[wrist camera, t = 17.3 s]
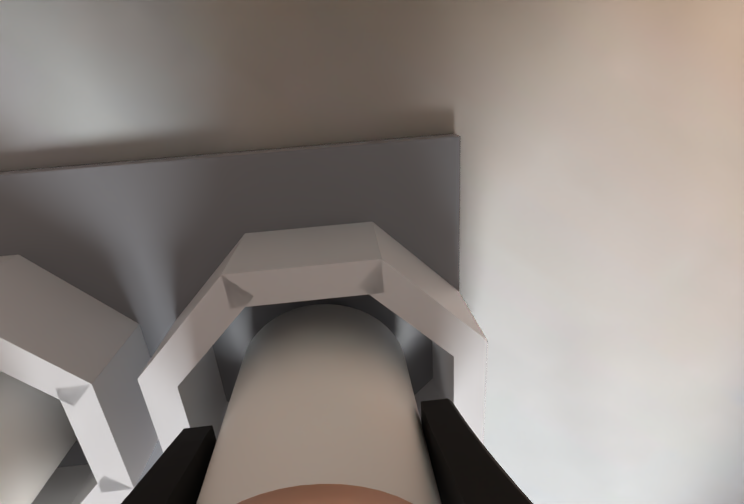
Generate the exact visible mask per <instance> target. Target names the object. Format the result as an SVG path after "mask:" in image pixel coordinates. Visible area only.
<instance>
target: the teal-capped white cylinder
mask: <svg viewBox="0 0 744 504" xmlns="http://www.w3.org/2000/svg"><path fill="white" fill-rule="evenodd" d="M76 440H77V437H76V435H75V432H74V430H73V428H72V426H71V423H70V421H69V419H68V417H67V415H66V412H65V410H64V408H63V406H62V403H61V401H60V400H59V399H57V398H55V397H53V396H51V395H49V394H47V393H45V392H43V391H41V390H39V389H37V388H34V387H32V386H30V385H28V384H26V383H24V382H22V381H20V380H18V379H16V378H14V377H12V376H10V375H8V374H6V373H4V372H2V371H0V504H31V503H32V502H33V501H34V499H35V498H36V496H37V495H38V494H39V492H40V491H41V489H42V488H43V487H44V485H45V484H46V482H47V481H48V479H49V478H50V477H51V475H52V474H53V472H54V471H55V470H56V468H57V467H58V465H59V464H60V463H61V461H62V460H63V458H64V457H65V456H66V454H67V453H68V451H69V450H70V449H71V447H72V446H73V444H74V443H75V441H76Z"/></svg>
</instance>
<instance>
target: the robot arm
mask: <svg viewBox="0 0 744 504" xmlns="http://www.w3.org/2000/svg"><path fill="white" fill-rule="evenodd" d="M421 424H422V428H423V432H424V436H425V440H426V444H427V448H428V452H429V456H430V460H431V464H432V468H433V472H434V476H435V480H436V484H437V488H438V492H439V496H440V500H441V504H533V503H532V502H531V501H530V500H529V499H528V497H527V496H526V495H525V494H524V493H523V492H522V491H521V490H520V488H519V487H518V486H517V485H516V484H515V483H514V482H513V480H512V479H511V478H510V477H509V476H508V474H507V473H506V472H505V471H504V470H503V468H502V467H501V466H500V465H499V464H498V462H497V461H496V460H495V459H494V458H493V456H492V455H491V454H490V453H489V451H488V450H487V449H486V448H485V446H484V445H483V444H482V442H481V441H480V440H479V439H478V437H477V436H476V435H475V433H474V432H473V431H472V429H471V428H470V427H469V425H468V424H467V422H466V421H465V420H464V418H463V417H462V415H461V414H460V412H459V411H458V409H457V408H456V406H455V405H454V403H453V402H452V401H451V400H449V399H448V398H446V399H437V400H429V401H421ZM216 441H217V440H216V436H215V433H214V429H213V426H212V425H210V426H202V427H193V428H184V429H183V430H182V431H181V432H180V434H179V435H178V436H177V437H176V438H175V439H174V441H173V442H172V443H171V444H170V445H169V447H168V448H167V449H166V450H165V451H164V453H163V454H162V455H161V456H160V457H159V459H158V460H157V461H156V462H155V464H154V465H153V466H152V467H151V468H150V470H149V471H148V472H147V473H146V474H145V476H144V477H143V478H142V479H141V480H140V482H139V483H138V484H137V485H136V486H135V488H134V489H133V490H132V491H131V492H130V493H129V495H128V496H127V497H126V498H125V499H124V500H123V502H122V503H121V504H196V503H197V500H198V497H199V494H200V491H201V488H202V484H203V481H204V478H205V475H206V472H207V469H208V466H209V463H210V460H211V457H212V454H213V450H214V447H215V444H216Z"/></svg>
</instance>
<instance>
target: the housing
mask: <svg viewBox="0 0 744 504" xmlns="http://www.w3.org/2000/svg"><path fill="white" fill-rule="evenodd" d="M459 224H460V136H459V135H457V134H446V135H434V136H422V137H410V138H399V139H387V140H375V141H363V142H351V143H339V144H327V145H315V146H304V147H292V148H280V149H268V150H256V151H244V152H232V153H220V154H209V155H197V156H185V157H173V158H161V159H149V160H137V161H125V162H114V163H102V164H90V165H78V166H66V167H54V168H42V169H30V170H19V171H7V172H0V371H2V372H4V373H6V374H8V375H10V376H12V377H14V378H16V379H18V380H20V381H22V382H24V383H26V384H28V385H30V386H32V387H34V388H37V389H39V390H41V391H43V392H45V393H47V394H49V395H51V396H53V397H55V398H57V399H59V400H60V401H61V403H62V406H63V408H64V410H65V412H66V415H67V417H68V419H69V421H70V423H71V426H72V428H73V430H74V432H75V435H76V437H77V440H76V441H75V443H74V444H73V446H72V447H71V449H70V450H69V451H68V453H67V454H66V456H65V457H64V458H63V460H62V461H61V463H60V464H59V465H58V467H57V468H56V470H55V471H54V472H53V474H52V475H51V477H50V478H49V479H48V481H47V482H46V484H45V485H44V487H43V488H42V489H41V491H40V492H39V494H38V495H37V496H36V498H35V499H34V501H33V502H32V503H31V504H121V503H122V502H123V500H124V499H125V498H126V497H127V496H128V495H129V493H130V492H131V491H132V490H133V489H134V488H135V486H136V485H137V484H138V483H139V482H140V480H141V479H142V478H143V477H144V476H145V474H146V473H147V472H148V471H149V470H150V468H151V467H152V466H153V465H154V464H155V462H156V461H157V460H158V459H159V457H160V456H161V455H162V454H163V453H164V451H165V450H166V449H167V448H168V447H169V445H170V444H171V443H172V442H173V441H174V439H175V438H176V437H177V436H178V435H179V434H180V432H181V431H182V430H183V429H184V428H193V427H202V426H210V425H212V426H213V429H214V433H215V436H216V440H217V438H218V435H219V432H220V429H221V426H222V423H223V420H224V416H225V413H226V410H227V407H228V404H229V401H230V398H231V395H232V392H233V389H234V386H235V382H236V379H237V376H238V373H239V370H240V367H241V364H242V361H243V358H244V355H245V352H246V349H247V348H248V346H249V344H250V342H251V340H252V339H253V338H254V336H255V335H256V334H257V333H258V332H259V331H260V330H261V329H262V328H263V327H264V326H265V325H266V324H267V323H269V322H270V321H271V320H273V319H274V318H276V317H278V316H280V315H281V314H283V313H286V312H288V311H291V310H293V309H297V308H300V307H304V306H310V305H318V304H333V305H342V306H347V307H351V308H354V309H358V310H361V311H363V312H365V313H367V314H369V315H371V316H373V317H374V318H376V319H378V320H379V321H380V322H382V323H383V324H384V325H385V326H387V328H388V329H389V330H390V331H391V332H392V333H393V334H394V336H395V337H396V339H397V340H398V341H399V343H400V346H401V348H402V350H403V353H404V357H405V360H406V364H407V368H408V372H409V376H410V380H411V384H412V388H413V392H414V396H415V400H416V404H417V408H418V412H419V416H420V420H421V401H429V400H437V399H446V398H448V399H449V400H451V401H452V402H453V403H454V405H455V406H456V408H457V409H458V411H459V412H460V414H461V415H462V417H463V418H464V420H465V421H466V422H467V424H468V425H469V427H470V428H471V429H472V431H473V432H474V433H475V435H476V436H477V437H478V439H479V440H480V441H481V442H482V444H483V445H484V421H485V397H486V373H487V349H488V341H487V339H486V337H485V336H484V334H483V332H482V330H481V329H480V327H479V325H478V323H477V322H476V320H475V318H474V317H473V315H472V313H471V311H470V310H469V308H468V306H467V304H466V303H465V301H464V299H463V298H462V296H461V294H460V292H459Z"/></svg>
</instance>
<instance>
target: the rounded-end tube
mask: <svg viewBox="0 0 744 504" xmlns="http://www.w3.org/2000/svg"><path fill="white" fill-rule="evenodd" d="M196 504H441V500H440V496H439V492H438V488H437V484H436V480H435V476H434V472H433V468H432V464H431V460H430V456H429V452H428V448H427V444H426V440H425V436H424V432H423V428H422V424H421V420H420V416H419V412H418V408H417V404H416V400H415V396H414V392H413V388H412V384H411V380H410V376H409V372H408V368H407V364H406V360H405V357H404V353H403V350H402V348H401V346H400V343H399V341H398V340H397V339H396V337H395V336H394V334H393V333H392V332H391V331H390V330H389V329H388V328H387V326H385V325H384V324H383V323H382V322H380V321H379V320H378V319H376V318H374V317H373V316H371V315H369V314H367V313H365V312H363V311H361V310H358V309H354V308H351V307H347V306H342V305H333V304H318V305H310V306H304V307H300V308H297V309H293V310H291V311H288V312H286V313H283V314H281V315H280V316H278V317H276V318H274V319H273V320H271V321H270V322H269V323H267V324H266V325H265V326H264V327H263V328H262V329H261V330H260V331H259V332H258V333H257V334H256V335H255V336H254V338H253V339H252V340H251V342H250V344H249V346H248V348H247V349H246V352H245V355H244V358H243V361H242V364H241V367H240V370H239V373H238V376H237V379H236V382H235V386H234V389H233V392H232V395H231V398H230V401H229V404H228V407H227V410H226V413H225V416H224V420H223V423H222V426H221V429H220V432H219V435H218V438H217V441H216V444H215V447H214V450H213V454H212V457H211V460H210V463H209V466H208V469H207V472H206V475H205V478H204V481H203V484H202V488H201V491H200V494H199V497H198V500H197V503H196Z"/></svg>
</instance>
